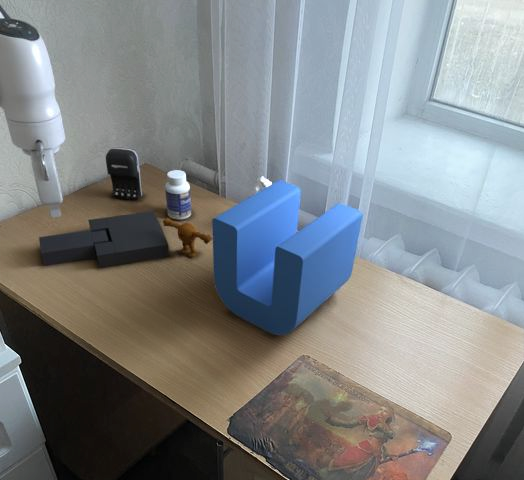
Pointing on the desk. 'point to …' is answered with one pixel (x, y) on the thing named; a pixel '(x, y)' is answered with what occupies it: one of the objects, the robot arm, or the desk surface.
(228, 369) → the desk surface
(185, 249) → the toy figurine
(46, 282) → the desk surface
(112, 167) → the battery charger
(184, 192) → the pill bottle
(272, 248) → the block
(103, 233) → the charcoal pad
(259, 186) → the white creature statuette
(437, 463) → the desk surface
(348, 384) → the desk surface
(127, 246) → the black pad
